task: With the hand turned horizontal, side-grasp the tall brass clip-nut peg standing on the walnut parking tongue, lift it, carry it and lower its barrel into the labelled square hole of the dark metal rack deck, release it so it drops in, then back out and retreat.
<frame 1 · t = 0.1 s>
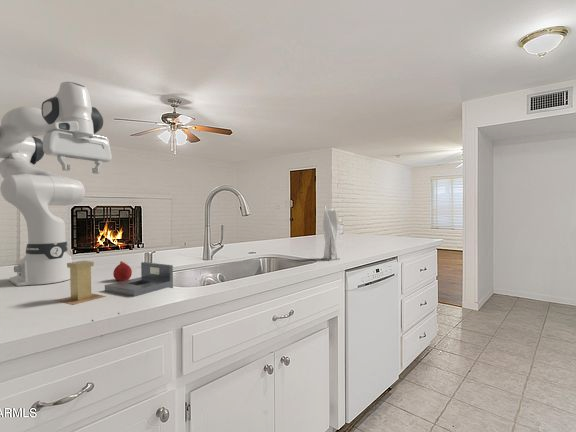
hand: (81, 172, 104), 39 cm above the worktop, tool pointing down, fingers open, 8 cm apart
skyscraper: (330, 259, 163), on the worktop
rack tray: (139, 292, 99), on the worktop
parking tongue: (81, 302, 88), on the worktop
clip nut: (81, 298, 88), point 1 cm above the worktop, touching parking tongue
onion: (122, 283, 111), on the worktop
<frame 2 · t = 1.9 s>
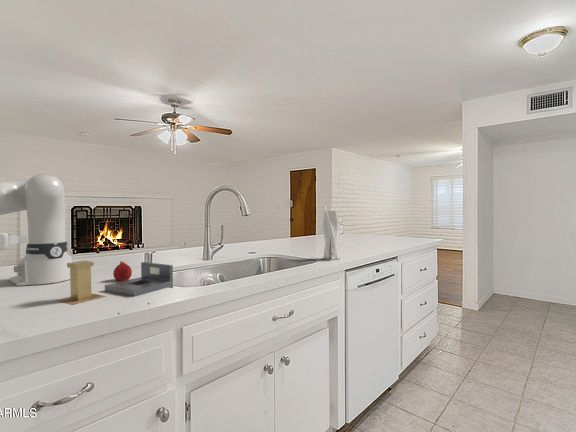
hand: (17, 238, 76), 19 cm above the worktop, tool horizontal, fingers open, 8 cm apart
nothing on the worktop moved.
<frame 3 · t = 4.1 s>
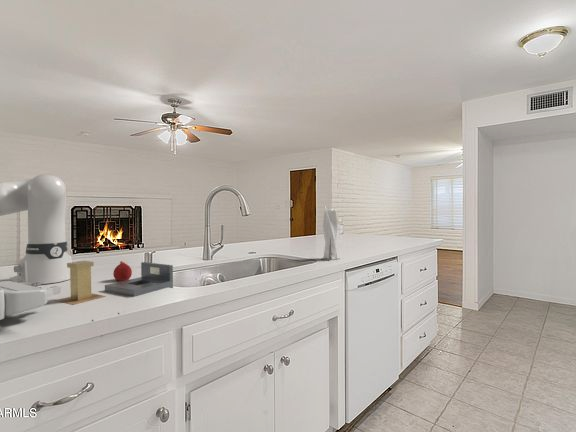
hand: (49, 287, 81), 6 cm above the worktop, tool horizontal, fingers open, 8 cm apart
nothing on the worktop moved.
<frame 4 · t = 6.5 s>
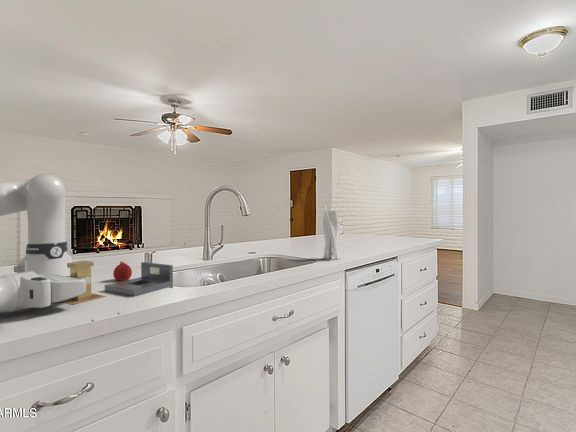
hand: (84, 278, 89), 7 cm above the worktop, tool horizontal, fingers closed on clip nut, 4 cm apart
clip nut: (81, 298, 88), point 1 cm above the worktop, touching gripper, parking tongue
everything else where it was.
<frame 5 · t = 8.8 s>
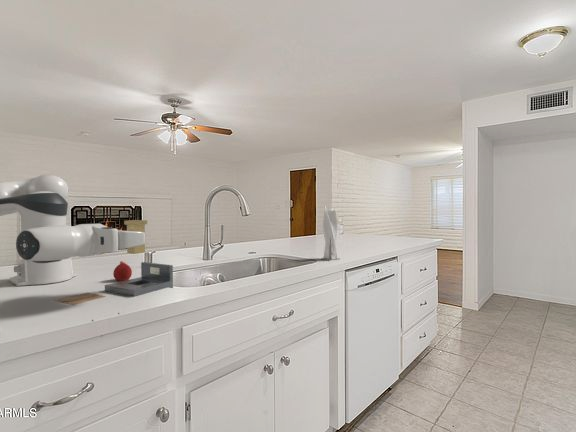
hand: (138, 235, 99), 18 cm above the worktop, tool horizontal, fingers closed on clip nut, 4 cm apart
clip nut: (136, 252, 98), point 13 cm above the worktop, touching gripper
everything else where it was.
when the fingers open (8 cm above the worktop, at t = 11.2 s): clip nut drops 2 cm, resting in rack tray.
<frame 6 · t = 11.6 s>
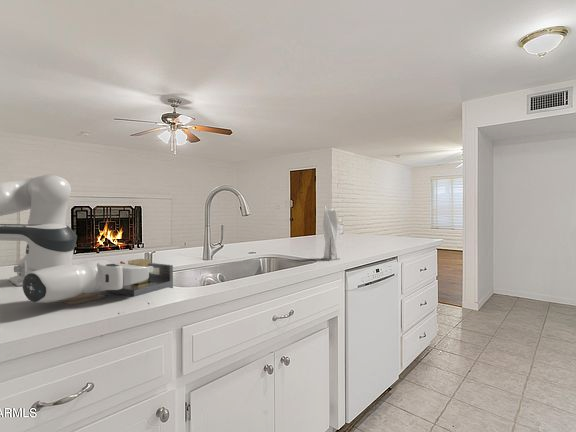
hand: (142, 267, 100), 8 cm above the worktop, tool horizontal, fingers open, 8 cm apart
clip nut: (139, 292, 99), resting in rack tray
everything else where it was.
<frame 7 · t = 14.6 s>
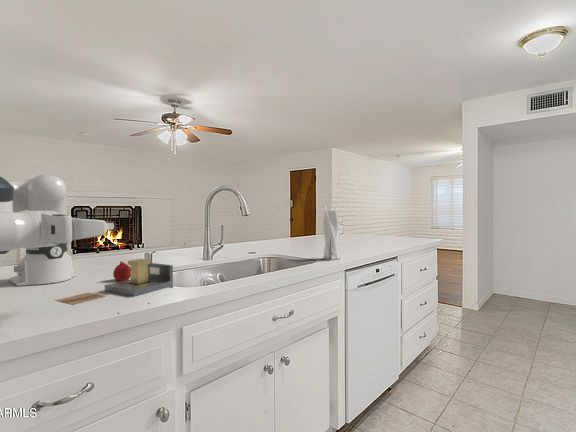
hand: (102, 225, 88), 22 cm above the worktop, tool horizontal, fingers open, 8 cm apart
nothing on the worktop moved.
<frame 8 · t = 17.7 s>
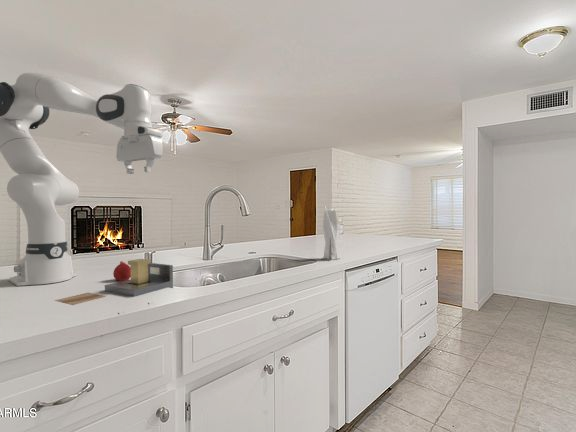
hand: (138, 172, 109), 39 cm above the worktop, tool pointing down, fingers open, 8 cm apart
nothing on the worktop moved.
at the end: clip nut 0.1 cm off-centre on the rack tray, point 0.0 cm above the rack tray's base; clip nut tilted 0°; the gripper is holding nothing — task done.
